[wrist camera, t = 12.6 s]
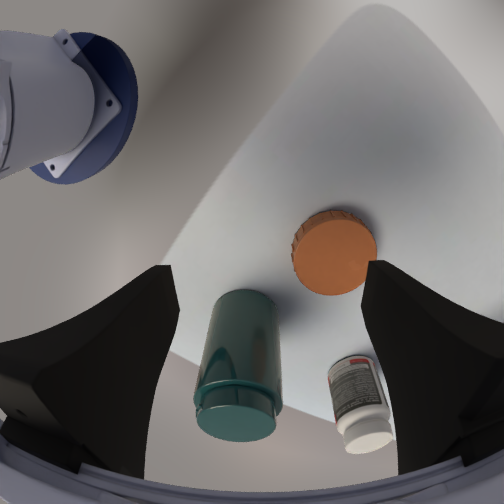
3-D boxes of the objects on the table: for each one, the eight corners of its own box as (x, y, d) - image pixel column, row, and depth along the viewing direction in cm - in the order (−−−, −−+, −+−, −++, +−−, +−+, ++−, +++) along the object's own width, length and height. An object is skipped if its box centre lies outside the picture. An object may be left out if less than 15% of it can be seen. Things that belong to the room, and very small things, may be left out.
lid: (339, 294, 22) (343, 308, 21) (275, 261, 21) (276, 274, 19) (385, 235, 20) (393, 245, 18) (321, 193, 19) (326, 201, 17)
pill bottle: (317, 376, 26) (327, 452, 19) (352, 347, 25) (374, 426, 17) (349, 390, 27) (364, 458, 20) (383, 364, 26) (407, 434, 18)
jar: (198, 309, 23) (170, 415, 14) (252, 277, 22) (244, 389, 13) (239, 348, 25) (230, 451, 16) (291, 322, 23) (301, 430, 14)
